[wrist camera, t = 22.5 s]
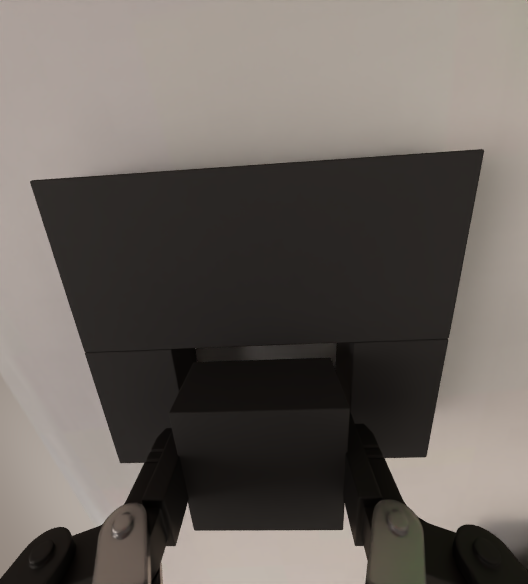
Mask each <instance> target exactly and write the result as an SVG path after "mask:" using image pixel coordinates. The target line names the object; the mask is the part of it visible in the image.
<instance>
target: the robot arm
mask: <svg viewBox="0 0 528 584" xmlns="http://www.w3.org/2000/svg"><path fill="white" fill-rule="evenodd" d="M343 498H344V502H345V506H346V510H347V514H348V518H349V523H350V527H351V531H352V535H353V539H354V543H355V546H364V548H365V552H366V556H367V560H368V564H367V573H366V583H365V584H528V572H527V571H526V570H525V568H524V567H523V566H522V565H521V563H520V562H519V561H518V560H517V558H516V557H515V556H514V555H513V553H512V552H511V551H510V550H509V549H508V547H507V546H506V545H505V544H504V543H503V542H502V541H501V540H500V539H499V538H497V537H496V536H495V535H494V534H492V533H491V532H489V531H487V530H485V529H484V528H481V527H479V526H475V525H463V526H461V527H460V528H458V530H457V532H456V533H455V532H452V531H449V530H446V529H443V528H440V527H437V526H434V525H432V524H429V523H427V522H425V521H423V520H422V519H420V518H419V517H418V516H416V515H415V513H414V512H413V511H412V510H411V509H410V508H409V507H407V505H406V504H405V502H404V501H403V499H402V497H401V495H400V493H399V490H398V488H397V486H396V483H395V481H394V479H393V477H392V474H391V472H390V470H389V468H388V465H387V463H386V461H385V458H384V457H383V454H382V452H381V449H380V448H379V445H378V443H377V440H376V438H375V436H374V434H373V432H372V431H371V430H370V429H369V428H368V427H367V426H366V425H365V424H364V423H362V424H355V422H354V420H353V417H352V415H351V412H350V417H349V434H348V451H347V453H346V457H345V476H344V494H343ZM188 499H189V498H188V493H187V489H186V484H185V480H184V475H183V470H182V466H181V461H180V457H179V456H178V454H177V450H176V445H175V441H174V436H173V432H172V428H166V429H165V430H164V431H163V432H162V433H161V434H160V435H159V436H158V437H157V438H156V440H155V442H154V444H153V446H152V448H151V452H150V453H149V455H148V457H147V459H146V462H145V463H144V465H143V467H142V469H141V471H140V473H139V475H138V477H137V480H136V482H135V484H134V486H133V488H132V490H131V492H130V494H129V496H128V498H127V500H126V502H125V504H124V505H123V506H121V507H119V508H118V509H116V510H115V511H114V512H113V513H112V514H111V515H110V516H109V517H108V518H107V519H106V520H105V522H104V523H103V524H102V525H100V526H98V527H96V528H93V529H90V530H88V531H85V532H82V533H79V534H76V535H74V536H72V535H71V533H70V531H69V530H68V529H67V528H64V527H57V528H54V529H51V530H48V531H46V532H44V533H43V534H41V535H40V536H38V537H37V538H36V539H35V540H33V541H32V542H31V543H30V544H29V545H28V546H27V548H25V550H24V551H23V552H22V553H21V554H20V556H19V557H18V558H17V559H16V561H15V562H14V563H13V564H12V565H11V567H10V568H9V569H8V570H7V571H6V573H5V574H4V575H3V576H2V578H1V579H0V584H163V577H162V564H161V560H162V556H163V553H164V550H165V547H166V546H176V543H177V539H178V535H179V532H180V528H181V525H182V521H183V517H184V514H185V510H186V506H187V503H188Z"/></svg>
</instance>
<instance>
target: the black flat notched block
mask: <svg viewBox="0 0 528 584" xmlns="http://www.w3.org/2000/svg"><path fill="white" fill-rule="evenodd" d="M483 154H484V150H482V149H479V150H465V151H450V152H436V153H421V154H407V155H392V156H378V157H364V158H349V159H335V160H320V161H306V162H291V163H277V164H262V165H248V166H233V167H219V168H204V169H190V170H176V171H161V172H147V173H132V174H118V175H103V176H89V177H74V178H60V179H45V180H32V181H30V183H31V186H32V189H33V193H34V196H35V199H36V202H37V205H38V208H39V211H40V214H41V217H42V221H43V224H44V227H45V230H46V233H47V236H48V239H49V242H50V245H51V249H52V252H53V255H54V258H55V261H56V264H57V267H58V270H59V274H60V277H61V280H62V283H63V286H64V289H65V292H66V295H67V298H68V302H69V305H70V308H71V311H72V314H73V317H74V320H75V323H76V326H77V330H78V333H79V336H80V339H81V342H82V345H83V348H84V351H85V352H86V353H85V355H86V358H87V361H88V364H89V367H90V371H91V374H92V377H93V380H94V383H95V386H96V389H97V392H98V395H99V399H100V402H101V405H102V408H103V411H104V414H105V417H106V420H107V423H108V427H109V430H110V433H111V436H112V439H113V442H114V445H115V448H116V451H117V455H118V458H119V461H120V463H145V462H146V459H147V457H148V455H149V453H150V452H151V448H152V446H153V444H154V442H155V440H156V438H157V437H158V436H159V435H160V434H161V433H162V432H163V431H164V430H165V429H166V428H172V427H171V423H170V418H169V412H170V409H171V407H172V405H173V403H174V401H175V399H176V397H177V395H178V393H179V391H180V389H181V387H182V385H183V383H184V381H185V379H186V377H187V375H188V373H189V371H190V369H191V367H192V364H193V363H194V362H197V358H196V352H195V348H211V347H237V346H263V345H290V344H316V343H337V352H336V373H337V376H338V379H339V381H340V384H341V387H342V389H343V392H344V395H345V397H346V400H347V403H348V405H349V408H350V412H351V415H352V417H353V420H354V422H355V424H362V423H364V424H365V425H366V426H367V427H368V428H369V429H370V430H371V431H372V432H373V434H374V436H375V438H376V440H377V443H378V445H379V448H380V449H381V452H382V454H383V457H384V458H408V457H426V455H427V450H428V445H429V439H430V434H431V429H432V424H433V418H434V413H435V408H436V402H437V397H438V392H439V387H440V381H441V376H442V371H443V365H444V360H445V355H446V349H447V344H448V339H447V338H449V334H450V329H451V323H452V318H453V313H454V308H455V302H456V297H457V292H458V286H459V281H460V276H461V271H462V265H463V260H464V255H465V249H466V244H467V239H468V234H469V228H470V223H471V218H472V212H473V207H474V202H475V196H476V191H477V186H478V181H479V175H480V170H481V165H482V159H483Z"/></svg>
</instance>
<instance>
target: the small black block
mask: <svg viewBox="0 0 528 584" xmlns="http://www.w3.org/2000/svg"><path fill="white" fill-rule="evenodd" d="M349 417H350V408H349V405H348V403H347V400H346V397H345V395H344V392H343V389H342V387H341V384H340V381H339V379H338V376H337V373H336V370H335V368H334V365H333V362H332V360H331V358H306V359H277V360H247V361H218V362H194V363H193V364H192V367H191V369H190V371H189V373H188V375H187V377H186V379H185V381H184V383H183V385H182V387H181V389H180V391H179V393H178V395H177V397H176V399H175V401H174V403H173V405H172V407H171V409H170V412H169V418H170V423H171V427H172V432H173V436H174V441H175V445H176V450H177V454H178V456H179V457H180V461H181V466H182V470H183V475H184V480H185V484H186V489H187V493H188V498H189V499H188V504H189V509H190V513H191V518H192V523H193V527H194V530H343V521H344V503H345V502H344V498H343V494H344V476H345V457H346V453H347V451H348V434H349Z"/></svg>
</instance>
